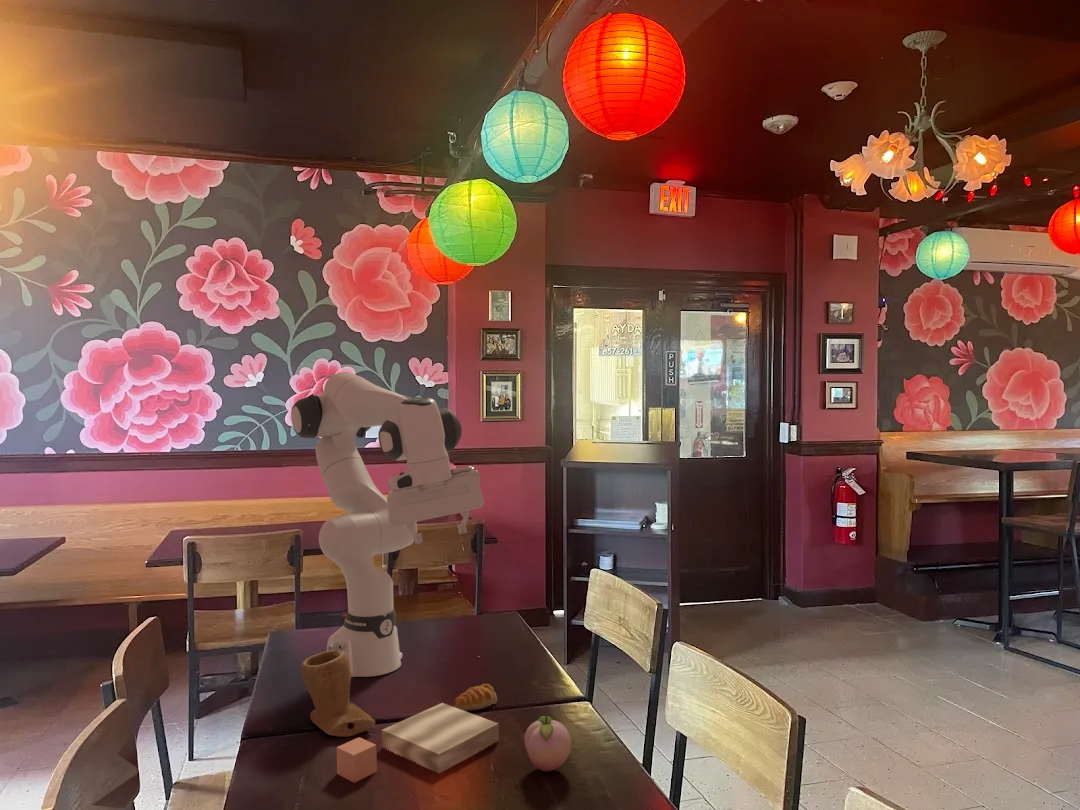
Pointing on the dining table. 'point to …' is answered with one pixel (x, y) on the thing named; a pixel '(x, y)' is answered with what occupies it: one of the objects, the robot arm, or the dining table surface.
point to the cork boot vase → (333, 695)
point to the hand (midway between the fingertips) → (441, 538)
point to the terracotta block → (356, 759)
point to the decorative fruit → (547, 743)
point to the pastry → (476, 698)
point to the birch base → (440, 737)
